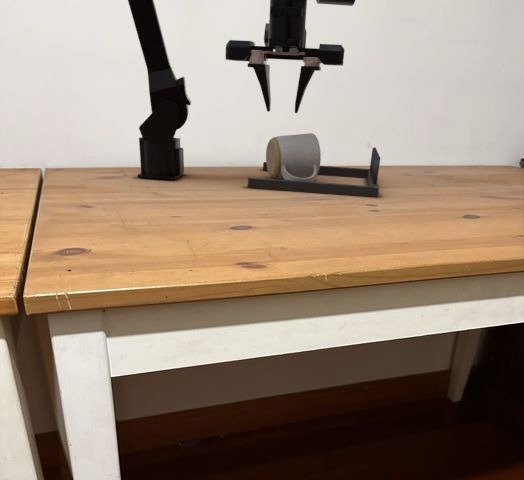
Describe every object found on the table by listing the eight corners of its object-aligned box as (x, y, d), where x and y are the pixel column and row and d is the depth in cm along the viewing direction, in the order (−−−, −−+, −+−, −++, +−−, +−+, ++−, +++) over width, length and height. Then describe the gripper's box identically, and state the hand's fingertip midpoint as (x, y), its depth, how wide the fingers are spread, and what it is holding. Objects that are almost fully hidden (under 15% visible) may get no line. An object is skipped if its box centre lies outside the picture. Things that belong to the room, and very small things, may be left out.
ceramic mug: (262, 175, 96) (264, 130, 92) (304, 174, 98) (307, 131, 95) (282, 187, 87) (285, 138, 83) (327, 187, 90) (332, 139, 86)
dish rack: (247, 187, 85) (248, 150, 83) (263, 169, 102) (264, 138, 99) (377, 197, 83) (382, 159, 80) (372, 177, 100) (376, 145, 97)
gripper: (348, 10, 87) (338, 112, 94) (238, 6, 89) (236, 106, 96) (349, 1, 77) (337, 116, 84) (225, -3, 79) (224, 110, 86)
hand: (282, 112), depth 88 cm, fingers open, 4 cm apart
